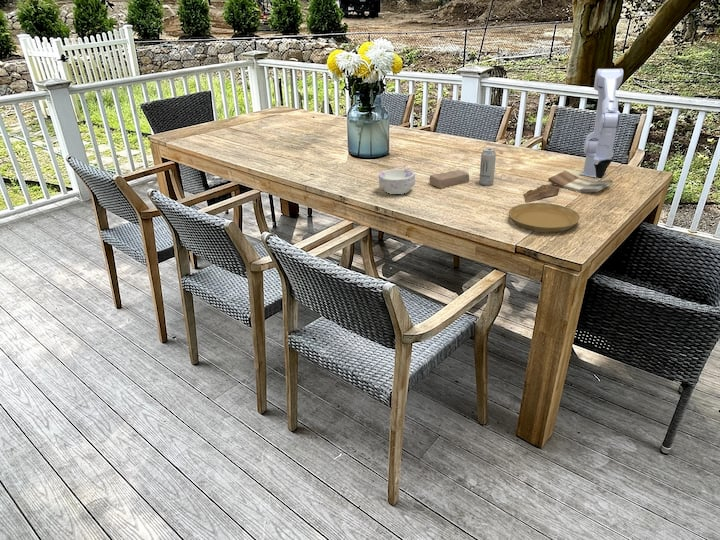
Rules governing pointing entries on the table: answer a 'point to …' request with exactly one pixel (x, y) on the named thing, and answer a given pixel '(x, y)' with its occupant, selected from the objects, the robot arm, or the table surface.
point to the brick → (449, 178)
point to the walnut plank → (562, 178)
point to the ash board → (578, 184)
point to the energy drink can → (487, 166)
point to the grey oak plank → (596, 186)
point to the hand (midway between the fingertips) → (599, 177)
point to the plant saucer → (544, 217)
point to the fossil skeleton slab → (541, 192)
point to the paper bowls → (397, 180)
